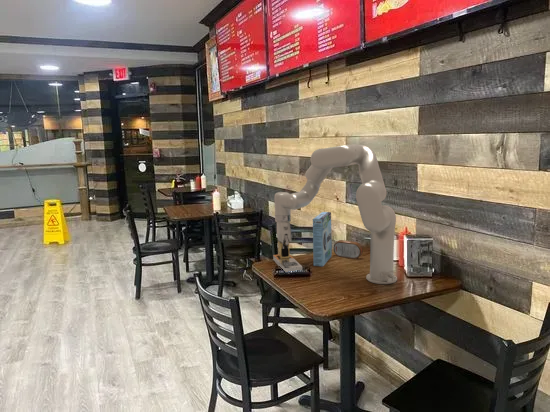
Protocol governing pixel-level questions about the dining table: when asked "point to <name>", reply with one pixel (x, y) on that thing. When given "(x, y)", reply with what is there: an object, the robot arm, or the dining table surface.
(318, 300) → the dining table surface
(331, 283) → the dining table surface
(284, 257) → the nut block
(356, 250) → the tin
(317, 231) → the gum box
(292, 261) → the grey flat box
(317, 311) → the dining table surface
